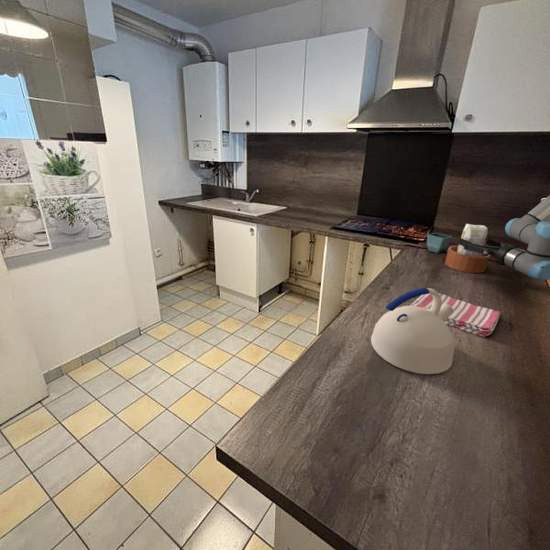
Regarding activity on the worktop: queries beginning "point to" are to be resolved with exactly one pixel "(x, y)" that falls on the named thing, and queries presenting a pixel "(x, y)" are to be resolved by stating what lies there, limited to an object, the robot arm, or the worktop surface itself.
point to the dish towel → (464, 314)
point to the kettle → (415, 335)
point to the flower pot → (437, 242)
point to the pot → (466, 261)
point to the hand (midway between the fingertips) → (473, 241)
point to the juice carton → (473, 238)
